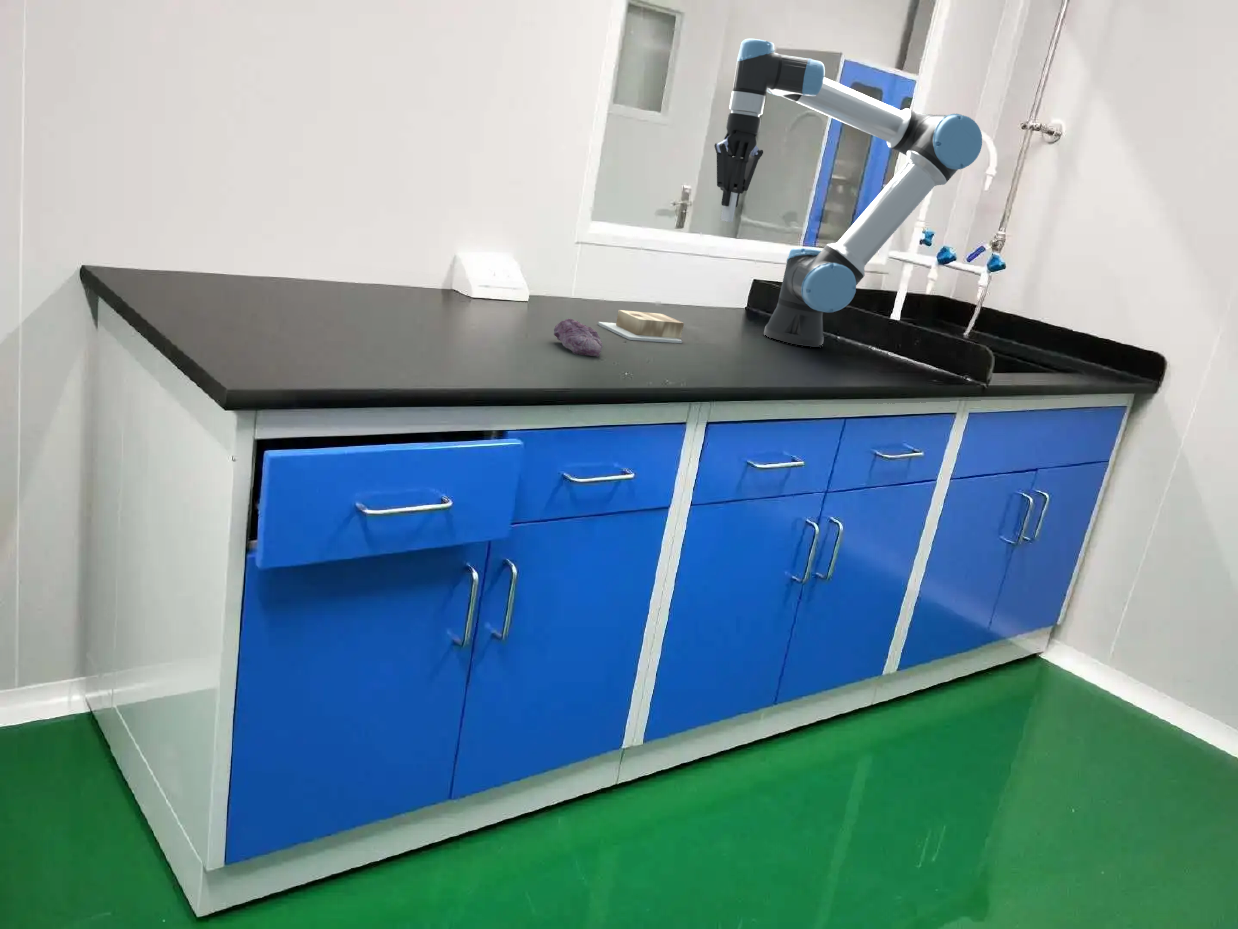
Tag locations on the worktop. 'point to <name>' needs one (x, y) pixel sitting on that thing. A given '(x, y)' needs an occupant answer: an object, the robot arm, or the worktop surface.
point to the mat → (631, 336)
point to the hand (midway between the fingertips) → (726, 220)
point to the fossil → (578, 337)
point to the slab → (649, 324)
